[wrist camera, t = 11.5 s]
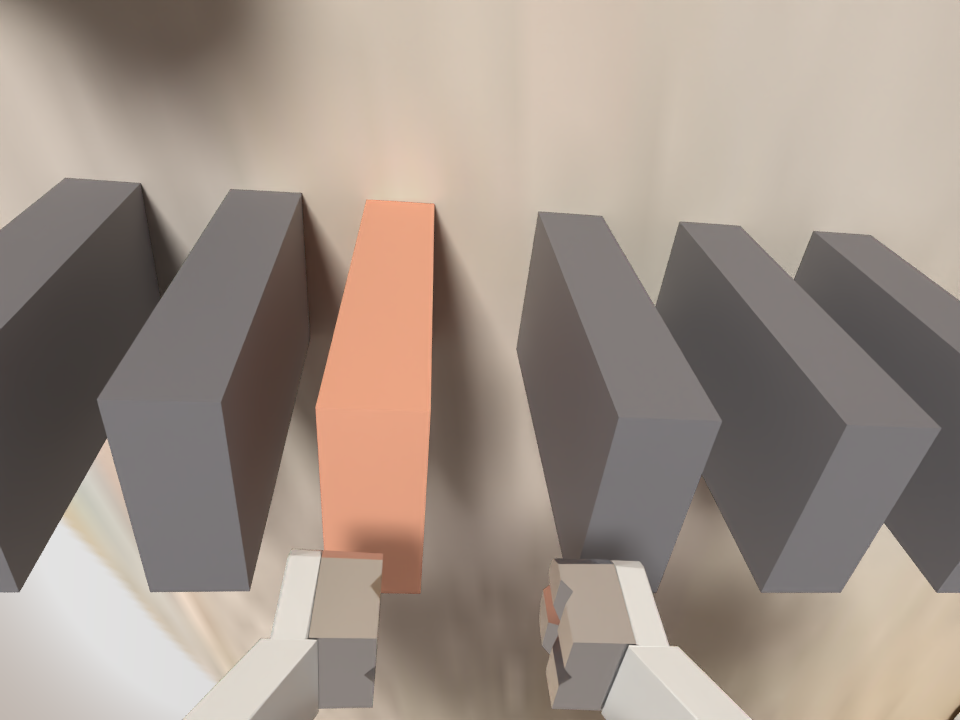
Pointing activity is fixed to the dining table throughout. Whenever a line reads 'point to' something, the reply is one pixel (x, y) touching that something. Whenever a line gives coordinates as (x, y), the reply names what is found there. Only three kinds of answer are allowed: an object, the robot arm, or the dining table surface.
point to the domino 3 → (381, 395)
